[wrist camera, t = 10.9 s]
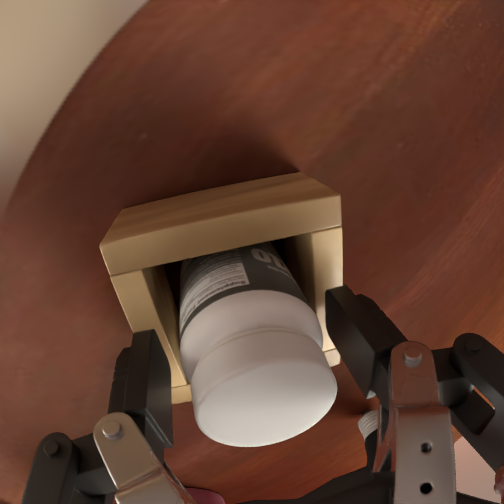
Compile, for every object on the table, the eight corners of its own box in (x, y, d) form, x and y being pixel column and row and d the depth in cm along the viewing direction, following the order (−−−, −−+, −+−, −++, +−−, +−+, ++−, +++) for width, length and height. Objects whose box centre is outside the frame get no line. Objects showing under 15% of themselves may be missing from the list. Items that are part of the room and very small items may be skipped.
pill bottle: (293, 277, 16) (370, 403, 9) (216, 324, 16) (244, 466, 9) (245, 202, 14) (316, 314, 6) (159, 259, 14) (144, 407, 7)
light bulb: (328, 436, 24) (367, 526, 15) (347, 397, 22) (402, 500, 13) (380, 423, 25) (424, 500, 17) (404, 383, 23) (462, 468, 14)
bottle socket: (120, 209, 13) (97, 245, 9) (301, 171, 14) (341, 193, 10) (169, 349, 16) (169, 404, 13) (312, 316, 17) (340, 364, 14)
